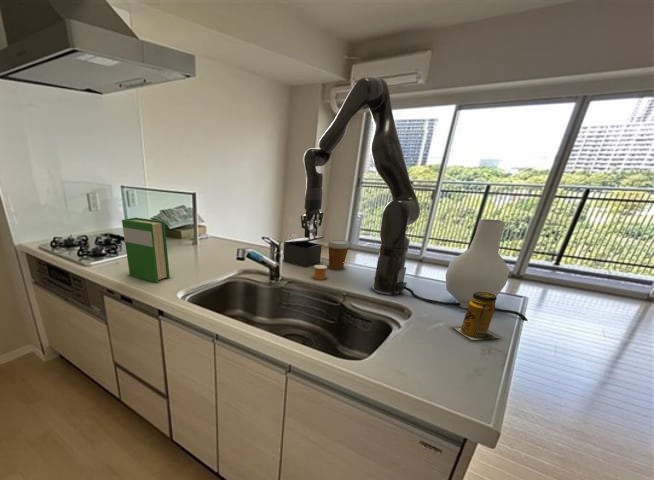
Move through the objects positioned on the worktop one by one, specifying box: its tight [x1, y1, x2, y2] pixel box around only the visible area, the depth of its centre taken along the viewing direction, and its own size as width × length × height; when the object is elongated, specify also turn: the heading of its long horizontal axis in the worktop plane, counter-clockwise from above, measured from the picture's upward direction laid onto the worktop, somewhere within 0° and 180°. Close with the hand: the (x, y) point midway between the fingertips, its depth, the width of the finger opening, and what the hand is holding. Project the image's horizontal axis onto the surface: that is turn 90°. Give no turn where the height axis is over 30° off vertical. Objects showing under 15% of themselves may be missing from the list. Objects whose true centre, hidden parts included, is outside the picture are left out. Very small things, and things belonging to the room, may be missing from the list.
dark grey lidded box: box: [282, 241, 323, 268], centre depth 163 cm, size 14×12×9 cm
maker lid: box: [283, 227, 324, 244], centre depth 160 cm, size 14×12×5 cm
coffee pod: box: [313, 264, 328, 281], centre depth 142 cm, size 5×5×5 cm
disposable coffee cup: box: [327, 239, 351, 270], centre depth 153 cm, size 10×10×12 cm
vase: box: [445, 218, 511, 309], centre depth 109 cm, size 17×16×28 cm
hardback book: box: [121, 217, 171, 284], centre depth 142 cm, size 18×7×24 cm, turn 53°
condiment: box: [453, 292, 501, 341], centre depth 94 cm, size 7×8×12 cm
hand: (310, 236), depth 157 cm, fingers closed on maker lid, 5 cm apart
